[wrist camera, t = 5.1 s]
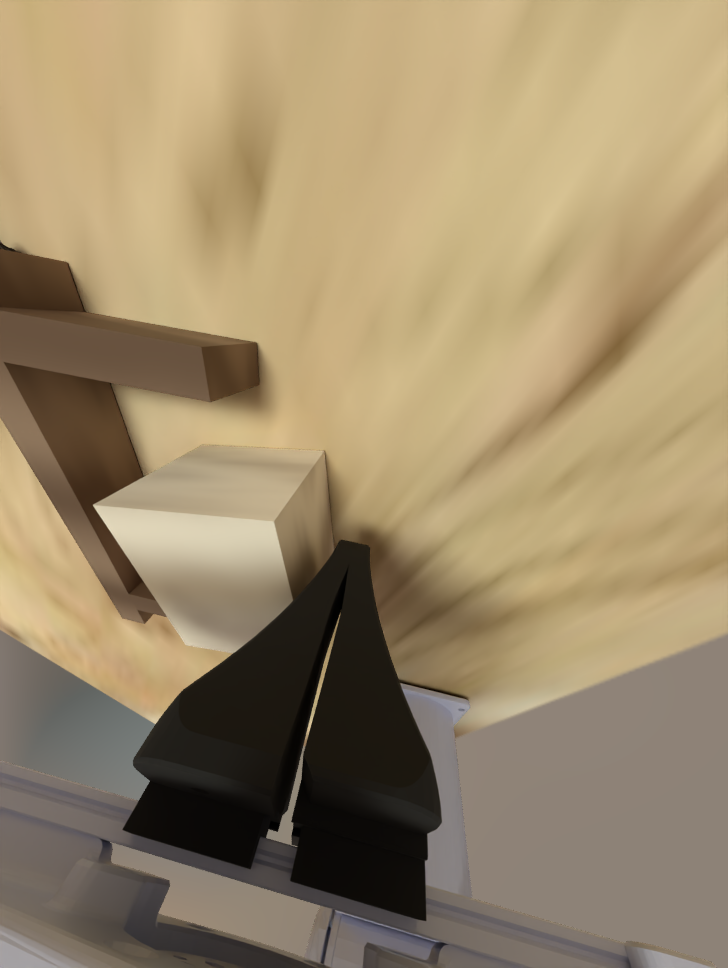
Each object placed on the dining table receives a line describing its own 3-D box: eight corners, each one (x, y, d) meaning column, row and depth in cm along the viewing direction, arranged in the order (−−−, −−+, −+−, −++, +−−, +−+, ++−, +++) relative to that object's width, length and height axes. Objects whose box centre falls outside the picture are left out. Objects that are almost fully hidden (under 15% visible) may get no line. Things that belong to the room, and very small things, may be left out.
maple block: (336, 574, 16) (308, 666, 11) (244, 563, 16) (185, 645, 12) (324, 450, 11) (274, 521, 7) (202, 444, 12) (92, 504, 8)
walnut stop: (274, 605, 18) (251, 650, 16) (161, 579, 19) (122, 618, 16) (253, 293, 9) (189, 278, 6) (28, 255, 9) (-115, 227, 7)
